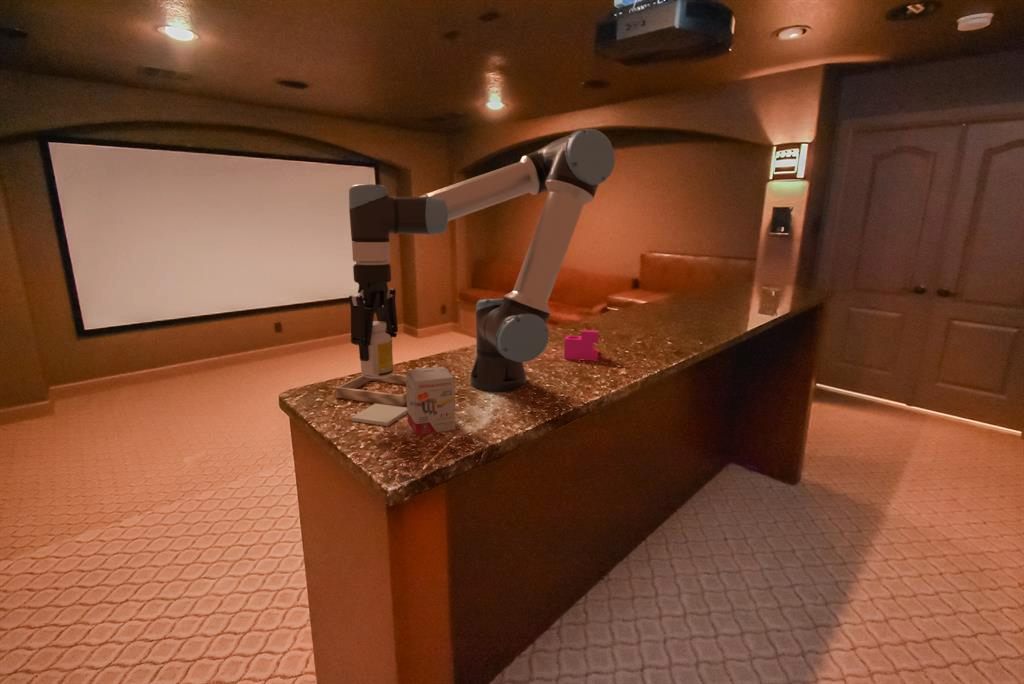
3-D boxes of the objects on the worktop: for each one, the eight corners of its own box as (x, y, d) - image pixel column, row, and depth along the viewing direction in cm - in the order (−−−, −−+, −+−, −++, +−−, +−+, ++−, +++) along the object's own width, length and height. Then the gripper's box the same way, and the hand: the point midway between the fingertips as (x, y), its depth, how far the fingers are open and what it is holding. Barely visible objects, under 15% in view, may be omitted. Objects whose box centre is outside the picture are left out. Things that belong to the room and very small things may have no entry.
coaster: (409, 411, 109) (409, 407, 109) (387, 426, 100) (387, 422, 100) (375, 406, 112) (375, 403, 111) (351, 420, 103) (351, 417, 103)
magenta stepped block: (596, 364, 148) (598, 332, 146) (563, 362, 150) (564, 330, 148) (598, 355, 159) (599, 324, 157) (567, 353, 161) (568, 323, 159)
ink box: (415, 436, 96) (413, 380, 93) (407, 421, 103) (404, 368, 101) (456, 429, 99) (455, 375, 96) (445, 415, 107) (444, 364, 104)
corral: (431, 387, 125) (430, 378, 125) (402, 406, 112) (401, 396, 111) (370, 380, 131) (369, 371, 130) (335, 397, 117) (335, 387, 117)
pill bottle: (398, 372, 106) (395, 321, 104) (385, 380, 100) (382, 326, 97) (371, 370, 107) (368, 319, 105) (356, 378, 101) (353, 325, 99)
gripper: (382, 260, 108) (387, 357, 114) (325, 265, 90) (334, 381, 96) (411, 261, 106) (415, 360, 111) (358, 266, 88) (366, 385, 93)
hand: (377, 370), depth 103 cm, fingers closed on pill bottle, 6 cm apart
